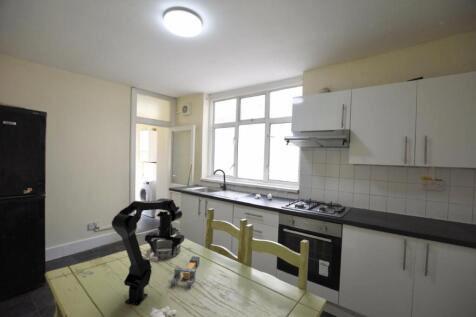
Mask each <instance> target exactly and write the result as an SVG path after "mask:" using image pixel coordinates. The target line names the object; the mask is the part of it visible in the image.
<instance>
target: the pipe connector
mask: <svg viewBox="0 0 476 317" xmlns="http://www.w3.org/2000/svg"><path fill="white" fill-rule="evenodd" d="M150 248H151V247H149V248H146V255H142V256H143V259H147V260H149V261H150V262H151V261H153V262H154V261H156V262H157V261H158V257H152V256H153V255H154V253H153V252H152V253H151V254H150Z"/></svg>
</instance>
